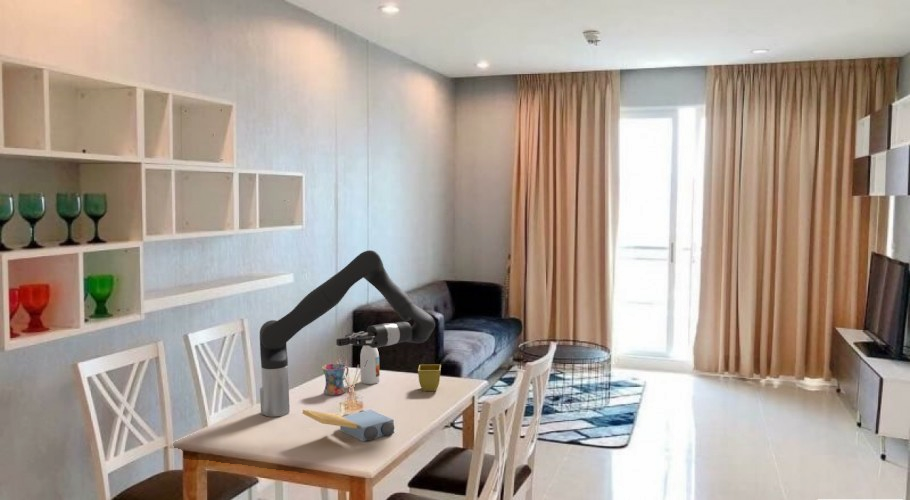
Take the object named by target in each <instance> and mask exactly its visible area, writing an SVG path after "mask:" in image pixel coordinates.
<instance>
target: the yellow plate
mask: <svg viewBox="0 0 910 500" xmlns="http://www.w3.org/2000/svg"><path fill="white" fill-rule="evenodd" d="M301 413H302V415H304V416H306V417H309V418H310V419H312V420H314V421H316V422H318V423H321V424H323V425H328V426H329V425H330V426H331V425H332V426H337V427H340V426H344V427H351V428H358V429H361V426H360V425H358V424H356V423H354V422H351V421H349V420H347V419H345V418H343V417H342V416H341V415H338V414H336V413H335V414H334V413H329V412H322V411H315V410H308V409H302V412H301Z"/></svg>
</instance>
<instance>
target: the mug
mask: <svg viewBox="0 0 910 500" xmlns="http://www.w3.org/2000/svg"><path fill="white" fill-rule="evenodd" d="M321 369H322V371H323V373H324V374H323V375H324V377H325V387H324V390H323V393H324V394H325V395H328V396H339V395H342V394H344V393H345V392H346V388H345V385H344V380H345V379H346V378H344V376H345V375H346V377H347V376H348V374H349V368H348V366H347V365H345V364H344V363H329V364H324V365H322V366H321ZM345 371H346V373H345ZM344 374H345V375H344Z"/></svg>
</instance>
